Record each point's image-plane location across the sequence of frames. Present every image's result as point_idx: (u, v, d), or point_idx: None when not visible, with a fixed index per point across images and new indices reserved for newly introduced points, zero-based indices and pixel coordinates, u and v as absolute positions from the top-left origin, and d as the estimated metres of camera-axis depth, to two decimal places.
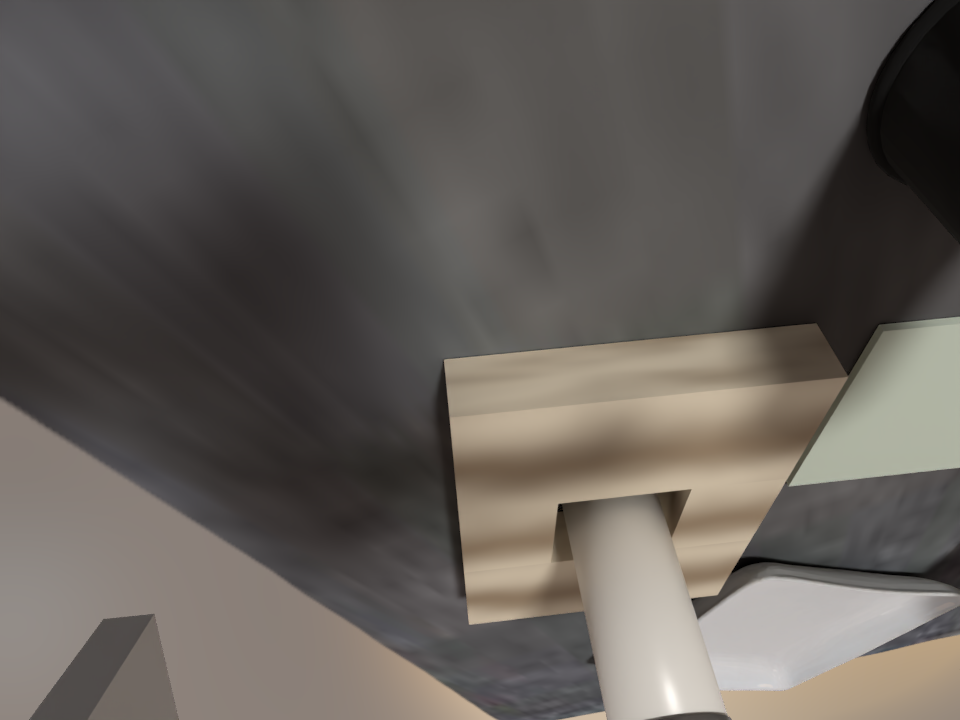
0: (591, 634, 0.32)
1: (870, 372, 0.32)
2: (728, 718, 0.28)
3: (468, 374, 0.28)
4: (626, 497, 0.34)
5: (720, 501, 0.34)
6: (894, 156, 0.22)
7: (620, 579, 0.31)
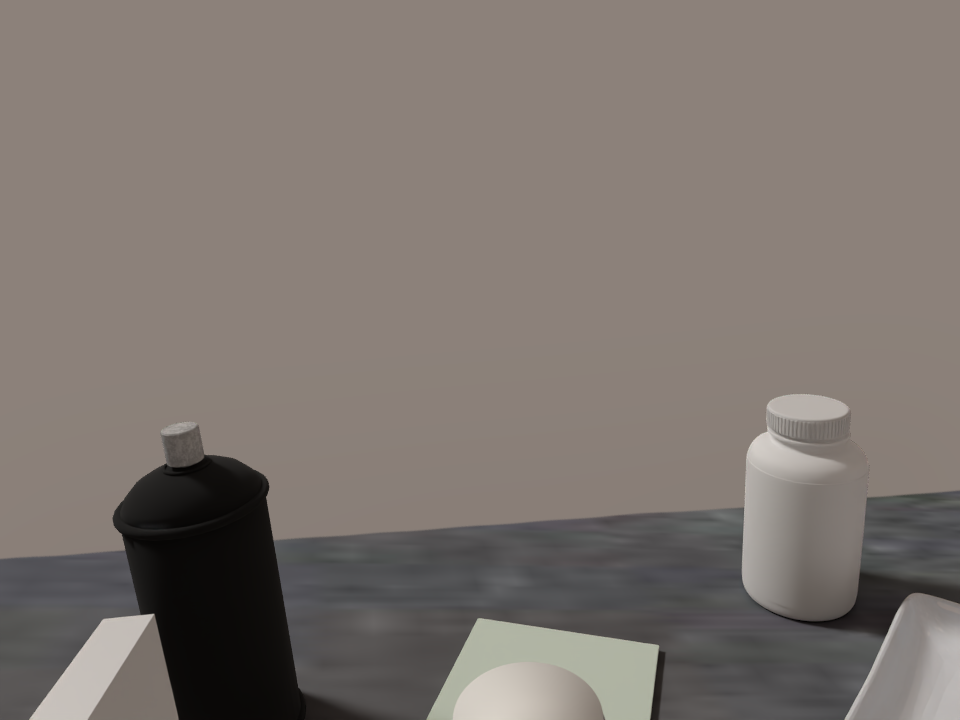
0: None
1: None
2: None
3: None
4: None
5: None
6: None
7: None
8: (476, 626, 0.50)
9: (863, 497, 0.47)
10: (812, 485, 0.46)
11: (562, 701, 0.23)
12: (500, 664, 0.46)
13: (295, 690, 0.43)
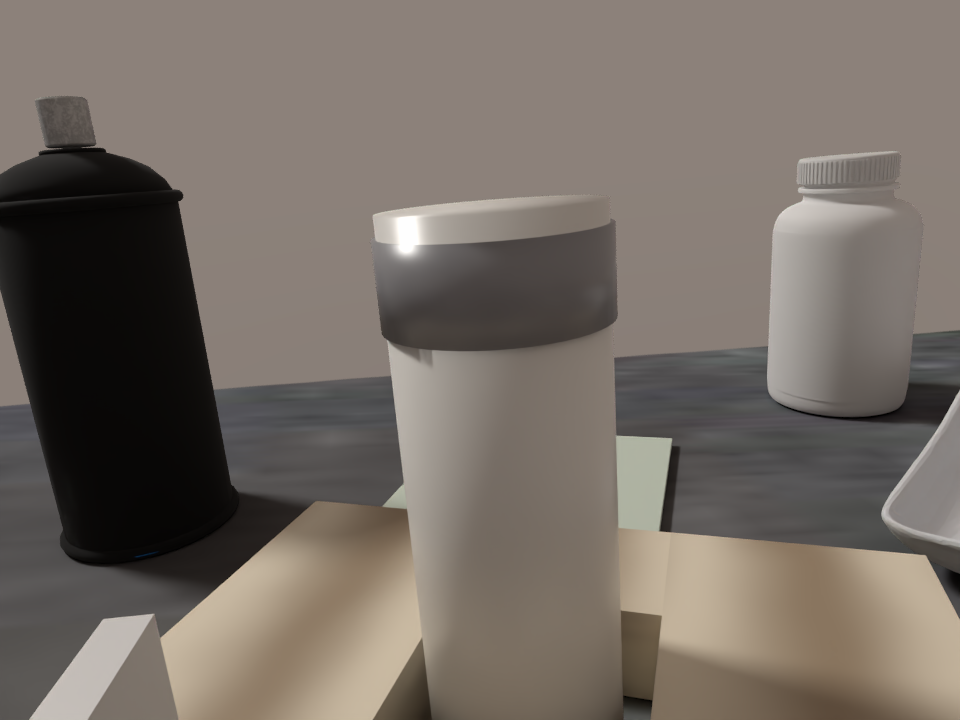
0: (466, 548, 0.14)
1: None
2: None
3: None
4: None
5: None
6: (126, 532, 0.31)
7: None
8: None
9: (917, 256, 0.39)
10: (856, 235, 0.38)
11: (545, 199, 0.15)
12: None
13: (223, 471, 0.34)
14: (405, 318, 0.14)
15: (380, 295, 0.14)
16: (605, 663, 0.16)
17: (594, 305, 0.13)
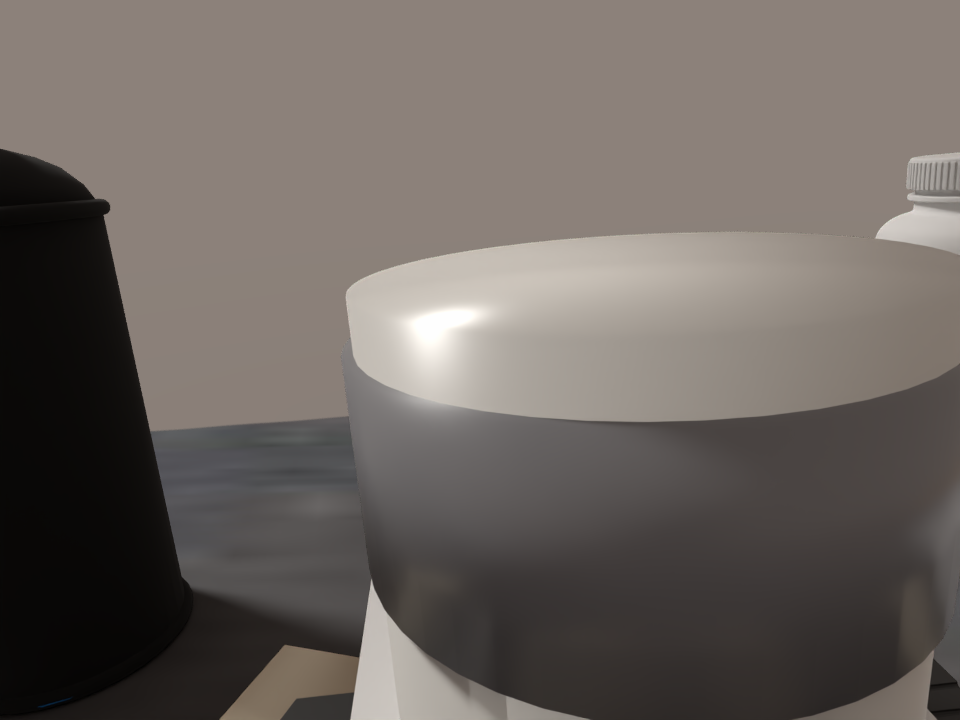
0: None
1: None
2: None
3: None
4: None
5: None
6: (25, 673, 0.22)
7: None
8: None
9: None
10: None
11: (750, 249, 0.07)
12: None
13: (169, 573, 0.26)
14: (430, 590, 0.05)
15: (364, 498, 0.06)
16: None
17: (956, 559, 0.05)
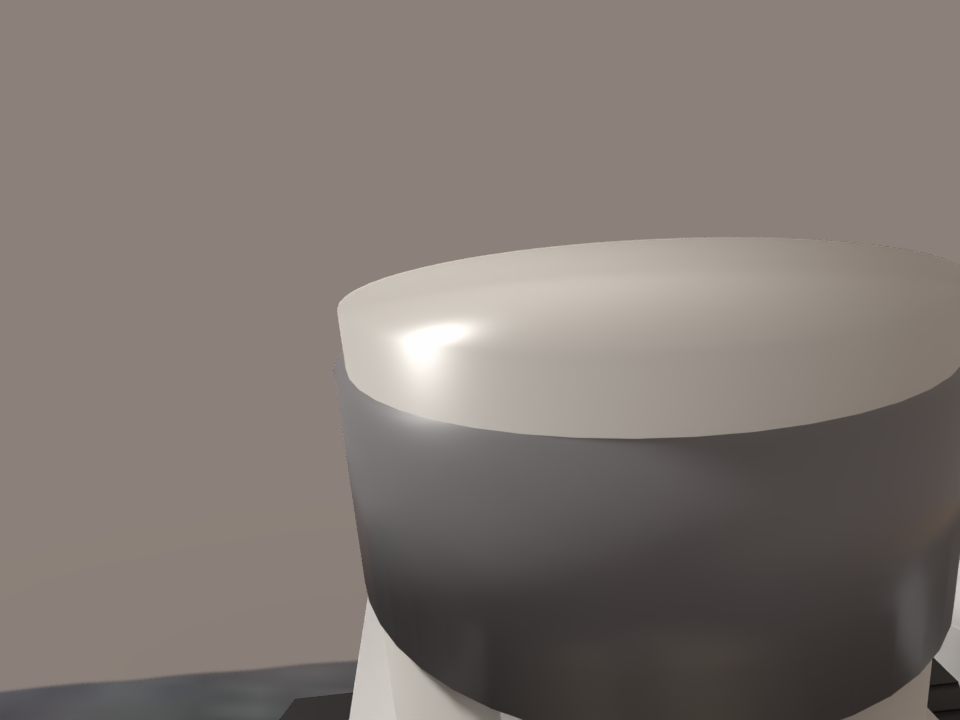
0: None
1: None
2: None
3: None
4: None
5: None
6: None
7: None
8: None
9: None
10: None
11: (744, 256, 0.06)
12: None
13: None
14: (424, 605, 0.05)
15: (358, 511, 0.06)
16: None
17: (953, 571, 0.05)
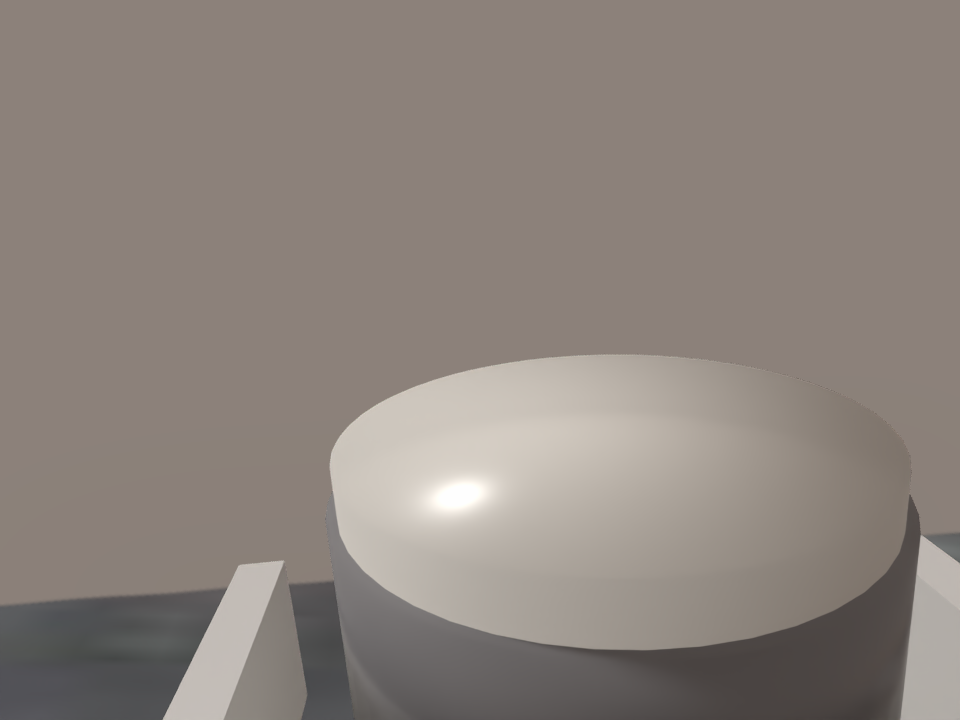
0: None
1: None
2: None
3: None
4: None
5: None
6: None
7: None
8: None
9: None
10: None
11: (713, 400, 0.07)
12: None
13: None
14: None
15: (346, 654, 0.06)
16: None
17: None
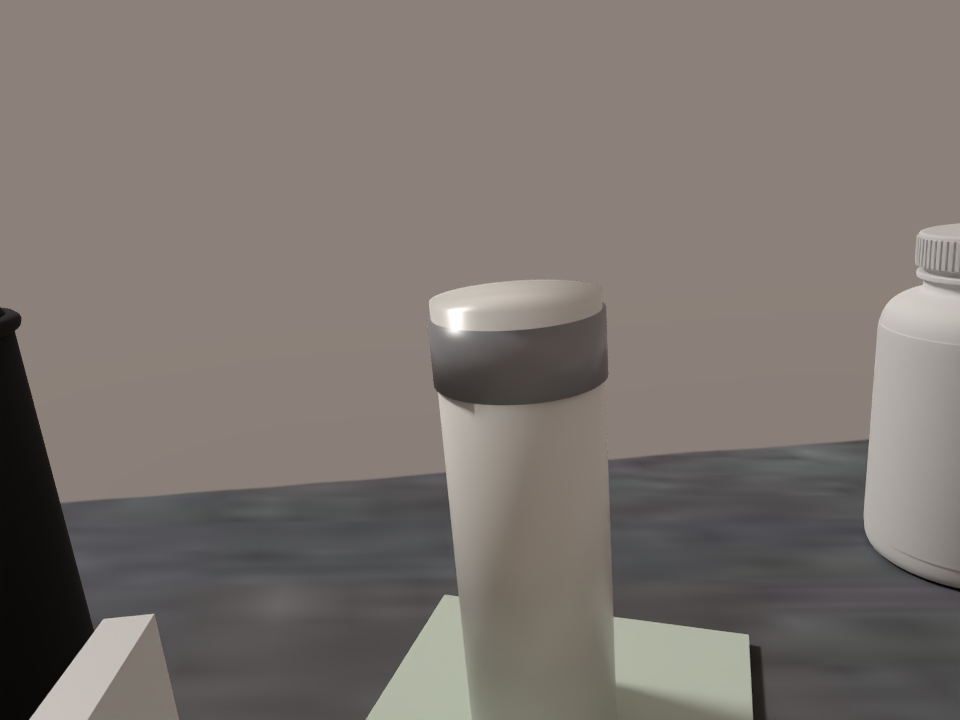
0: (497, 545, 0.20)
1: None
2: None
3: None
4: None
5: None
6: None
7: (455, 559, 0.22)
8: (440, 607, 0.31)
9: None
10: None
11: (554, 288, 0.20)
12: None
13: None
14: (454, 380, 0.19)
15: (435, 361, 0.20)
16: (599, 632, 0.21)
17: (590, 371, 0.19)
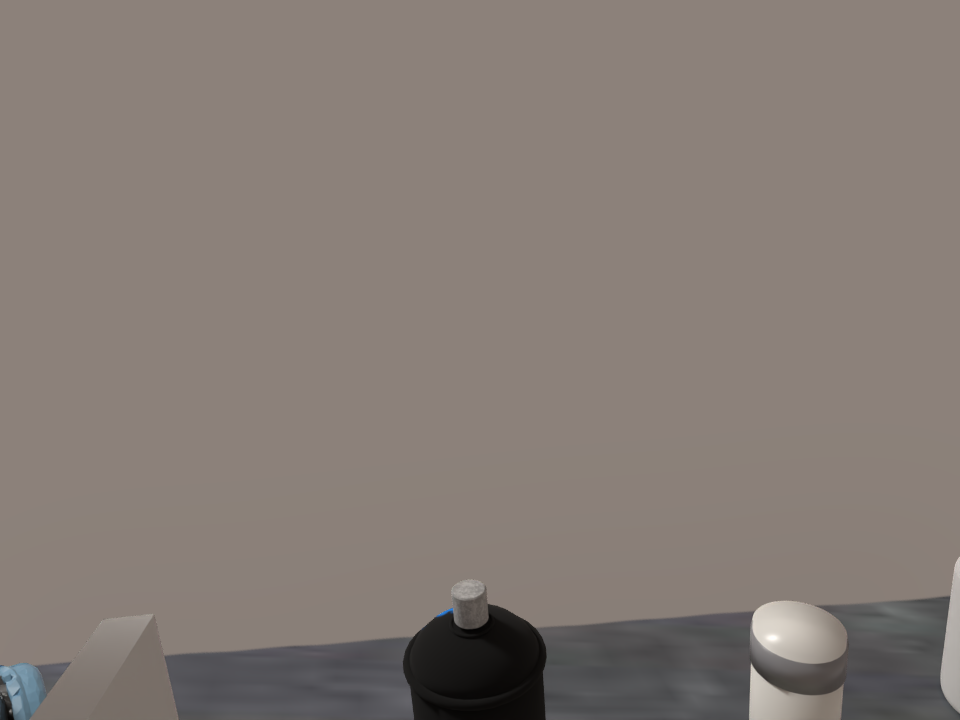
0: None
1: None
2: None
3: None
4: None
5: None
6: None
7: None
8: None
9: None
10: None
11: (816, 620, 0.41)
12: None
13: None
14: (778, 678, 0.39)
15: (762, 663, 0.40)
16: None
17: (844, 674, 0.39)
